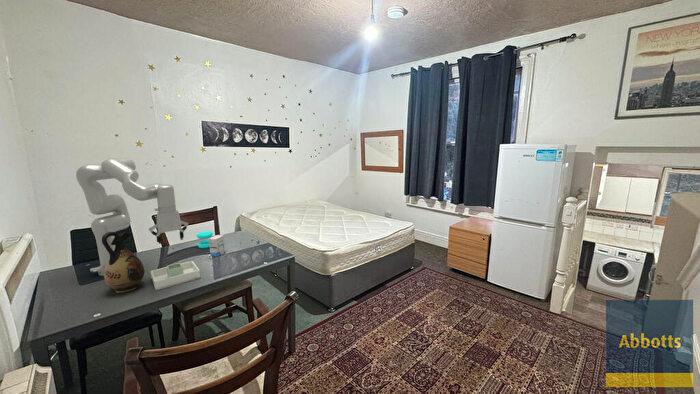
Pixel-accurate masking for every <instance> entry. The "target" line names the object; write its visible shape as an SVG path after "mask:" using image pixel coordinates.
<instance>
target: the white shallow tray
mask: <svg viewBox="0 0 700 394" xmlns="http://www.w3.org/2000/svg"><path fill="white" fill-rule="evenodd" d="M180 263H181V262H180ZM181 265H182V266H183V273H184V274H181V275H177V276H173V277H170V278H168V276H167V269H166V266H165V267H162V268H158V269H154V270H153V269H152V270H150V272H149V273H150V279H151V281H152V282H151V283H152V285H153V287H154V291H159V290H163V289H166V288H169V287H173V286H177V285H182V284H185V283H188V282H192V281H195V280H199V279H201V270H200V269H199V267H198V266H197V265H196V263H195V262H194V261H193V260H190V261H185V262H182V263H181Z"/></svg>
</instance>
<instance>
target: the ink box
mask: <svg viewBox="0 0 700 394" xmlns="http://www.w3.org/2000/svg"><path fill="white" fill-rule="evenodd" d="M208 240H209V253H210V254H209V255H210V257H216V258H217V257H219V256H220V255H222V254H224V253H225V252H226V251H225V250H226V249H225V240H224V235H223V234H217V235H214V236H213V235H212V237H210V238H208Z"/></svg>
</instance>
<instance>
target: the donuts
mask: <svg viewBox="0 0 700 394" xmlns="http://www.w3.org/2000/svg"><path fill="white" fill-rule="evenodd" d="M213 235H214V232H212V231H210V230H206V231H205V230H204V231H200V232H198V233H196V238H197V239H200V240H202V241H199V242H198V243H197V247H198V248H199V249H208V248H209V249H210V247H209V238H211V237H213Z"/></svg>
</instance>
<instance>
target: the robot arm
mask: <svg viewBox="0 0 700 394" xmlns="http://www.w3.org/2000/svg"><path fill="white" fill-rule="evenodd" d="M136 167H137V166H136V163H135V162H134V161H133V160H132V159H131V158H128V157H115V158H114V157H113V158H107V159H105V160H103V161H102V162H101V163H93V164H92V163H91V164H90V163H89V164H85V165H81V166H80V167H79V168H77V169H76V172H75V177H76V181H77V182H78V184H79V186H80V188H81V189H82V192H83V194H84V197H85V200H86V203H87V206H88V209H89V212H90V213H91V214H92V215H95V216H100V217H97V218H96V219H94V220H93V221H92V222H91V225H90V227H91V231H92V232H93V235H94V237H95V238H94V239H95V240H96V241H95V242H96V246H97V252H98V257H99V258H98V259H99V262H100V264H99V266H97V267H91V268H89V270H90V273H98V275H99V276H100V277H104V271H105V267H106V264H107V262H108V260H109V259H110V254H109V252H107V250H106V248H105V246H104V245H103V244H102V236H103V235H104V234H105V233H107V232H116V233H117V232H118V231H122V230H126V229H127V228H129V227H130V225H131V222H132V220H131V216H130V213H129V210H128V207H127V203H126V201H125V199H124V198H123V197H122V196H121V195H119V194H109V195H108V194H107V191H106V189H105V187H104V186H103V185H102V184H101V183H100V182H98V181H103V180H110V179H115V180H117V181H118V182H120V183H121V187H122V189H123V191H124V192H125V193H126V195H128V196H130V197H131V198H133V199H135V201H141V202H143V201H144V202H145V201H149V200H154V199H156V200H157V207H155V208H154V211H155V212H157V213H156V224H153V226H151V227H149V228H148V231H149V232H150V233H151V234H152V235H153V236H156V237H155V238H156V242H157V243H158V244H159V245H161V244H162V239H161V236H160V235H161V234H163V233H164V234H165V233H169V232H174V231H175V232H176V231H179V239H180V240H181V241H182V240H184V237H185V235H184V232H185V231H186V230H187V228H188V225H189V223H188V221H187V222H186V221H183V220H181V217H180V213H179V211H178V210H177V207H176V206H177V205H176V204H177V203H176V197H175V195H176V194H175V189H174V188H175V187H174V186H173V185H172V184H164V183H163V184H162V183H158V182H157V183H149V184H142V185H140V184H137V183H136V182H137V181H138V179H139V172H138V171H137V170H136ZM110 213H112V214H110ZM106 214H110V215H106ZM101 215H105V216H101ZM182 225H184V226H183V227H182ZM156 228H157V231H154V230H155V229H156ZM114 238H115V236H110V237H108V238H107V242H108V244H109V246H110V247H111V249H112V250H113V251H114V250H115V245H111V243H112V241H113V239H114Z"/></svg>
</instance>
